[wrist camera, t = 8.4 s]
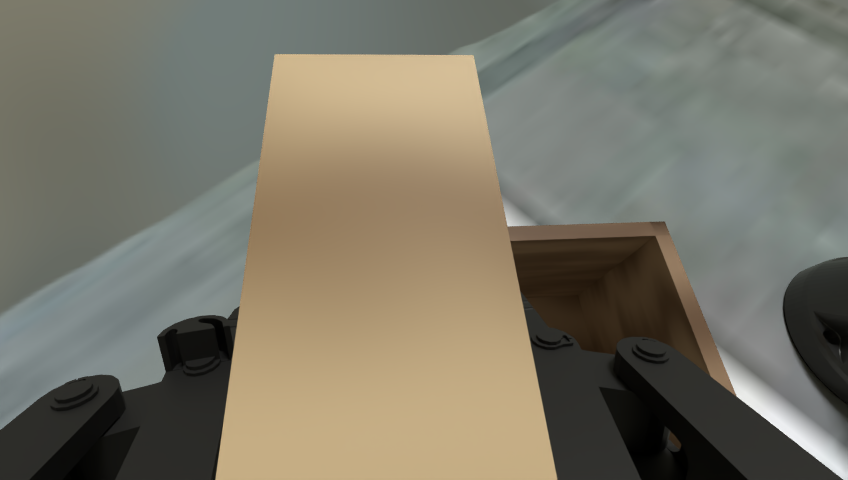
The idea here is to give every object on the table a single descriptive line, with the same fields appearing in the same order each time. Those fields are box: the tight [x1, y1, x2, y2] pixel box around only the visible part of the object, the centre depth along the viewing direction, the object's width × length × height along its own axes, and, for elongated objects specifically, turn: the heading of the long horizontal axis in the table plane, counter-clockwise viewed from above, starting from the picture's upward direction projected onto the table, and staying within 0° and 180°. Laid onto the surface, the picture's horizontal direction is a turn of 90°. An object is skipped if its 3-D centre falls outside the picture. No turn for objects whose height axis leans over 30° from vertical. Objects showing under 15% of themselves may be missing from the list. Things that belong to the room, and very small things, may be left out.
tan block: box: [215, 54, 557, 480], centre depth 11 cm, size 10×4×12 cm, turn 4°
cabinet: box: [507, 222, 737, 449], centre depth 27 cm, size 14×16×13 cm
